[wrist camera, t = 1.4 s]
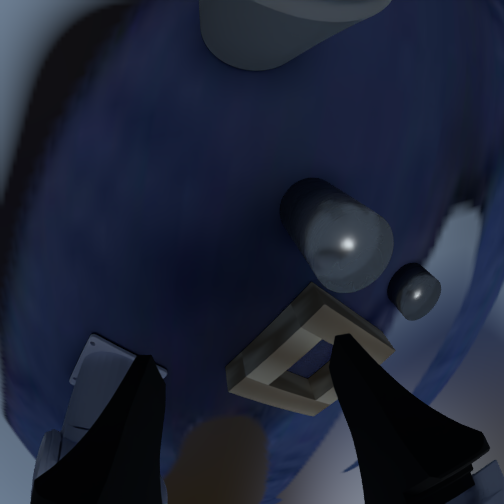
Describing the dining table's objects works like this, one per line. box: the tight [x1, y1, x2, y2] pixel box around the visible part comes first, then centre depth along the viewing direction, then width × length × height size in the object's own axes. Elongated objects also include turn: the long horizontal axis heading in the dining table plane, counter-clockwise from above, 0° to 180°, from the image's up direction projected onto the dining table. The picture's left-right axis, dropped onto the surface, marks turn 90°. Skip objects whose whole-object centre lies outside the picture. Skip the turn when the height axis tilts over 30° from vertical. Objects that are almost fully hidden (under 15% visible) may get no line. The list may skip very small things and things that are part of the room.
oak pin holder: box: [225, 282, 395, 416], centre depth 25 cm, size 12×12×3 cm
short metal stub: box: [387, 263, 441, 320], centre depth 23 cm, size 4×4×3 cm
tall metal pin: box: [280, 178, 393, 293], centre depth 17 cm, size 4×4×7 cm
